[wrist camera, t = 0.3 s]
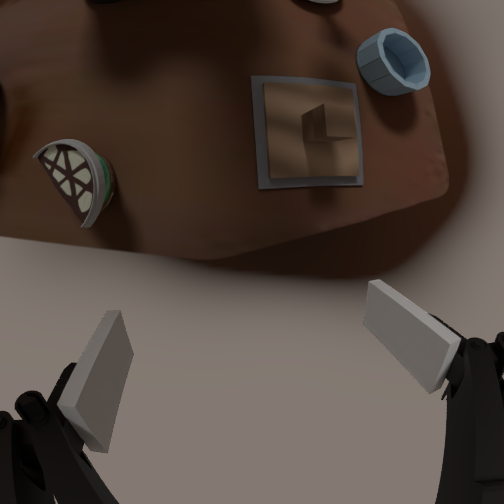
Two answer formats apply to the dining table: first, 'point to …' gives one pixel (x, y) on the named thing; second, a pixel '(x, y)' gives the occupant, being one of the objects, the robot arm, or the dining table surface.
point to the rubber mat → (261, 145)
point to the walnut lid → (310, 130)
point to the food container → (79, 177)
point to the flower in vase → (324, 1)
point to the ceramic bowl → (393, 63)
